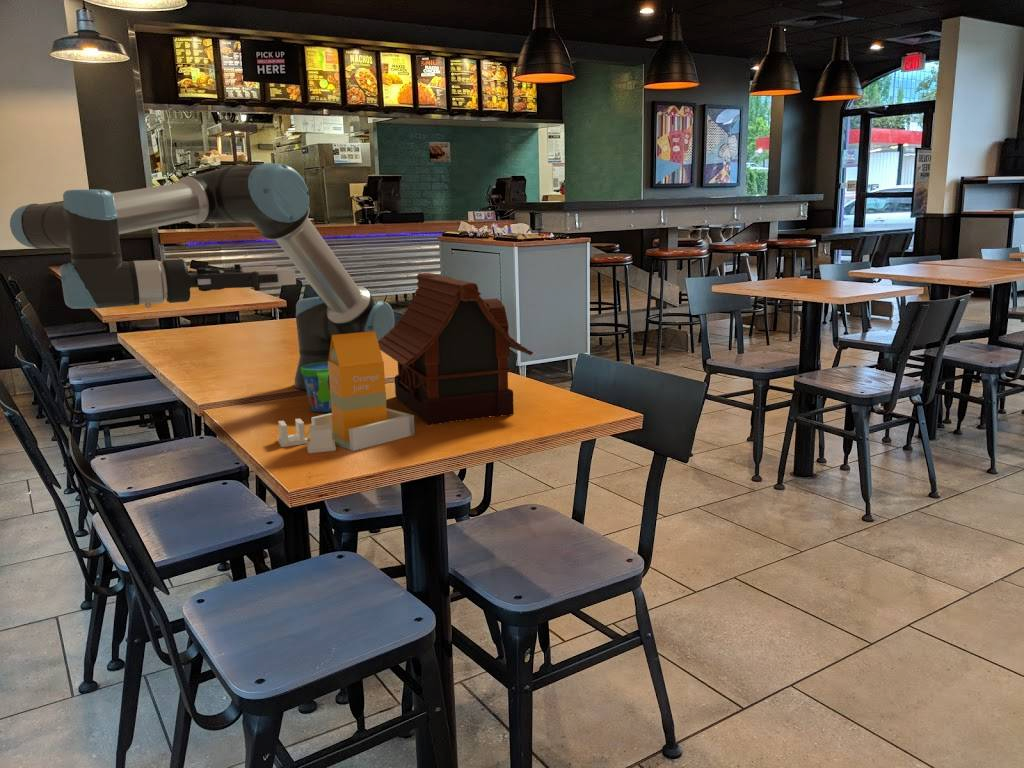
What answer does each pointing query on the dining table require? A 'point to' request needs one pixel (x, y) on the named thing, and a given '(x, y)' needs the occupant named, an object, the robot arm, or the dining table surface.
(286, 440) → the clip
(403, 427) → the tray
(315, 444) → the white upright piece
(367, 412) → the orange juice
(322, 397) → the snack cup
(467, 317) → the house
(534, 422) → the dining table surface
